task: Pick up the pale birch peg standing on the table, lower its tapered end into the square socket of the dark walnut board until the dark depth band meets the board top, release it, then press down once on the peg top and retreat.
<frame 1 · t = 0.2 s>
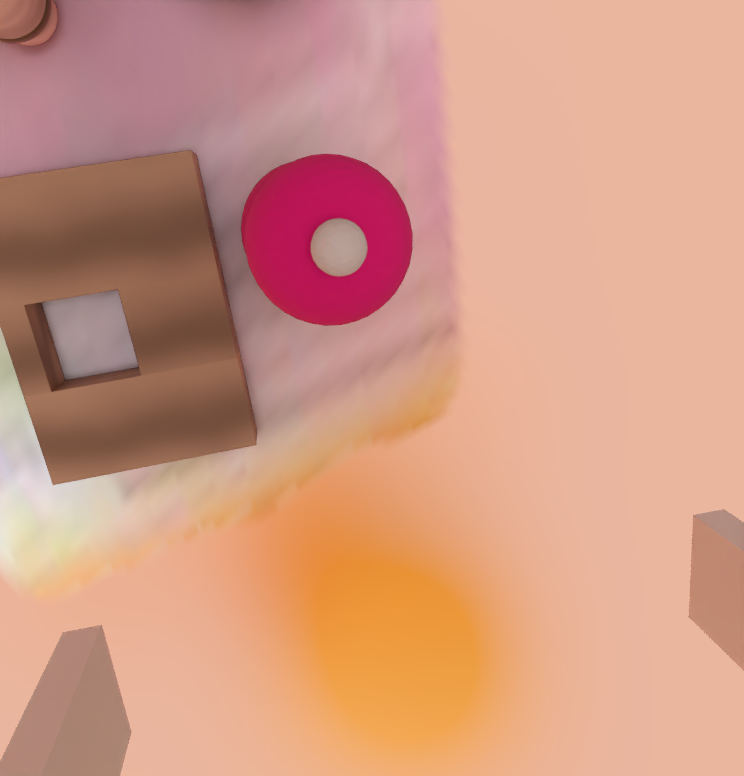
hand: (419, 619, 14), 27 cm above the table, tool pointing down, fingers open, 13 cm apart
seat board: (127, 318, 38), on the table
pepper mill: (305, 229, 38), on the table
peg: (24, 11, 33), on the table
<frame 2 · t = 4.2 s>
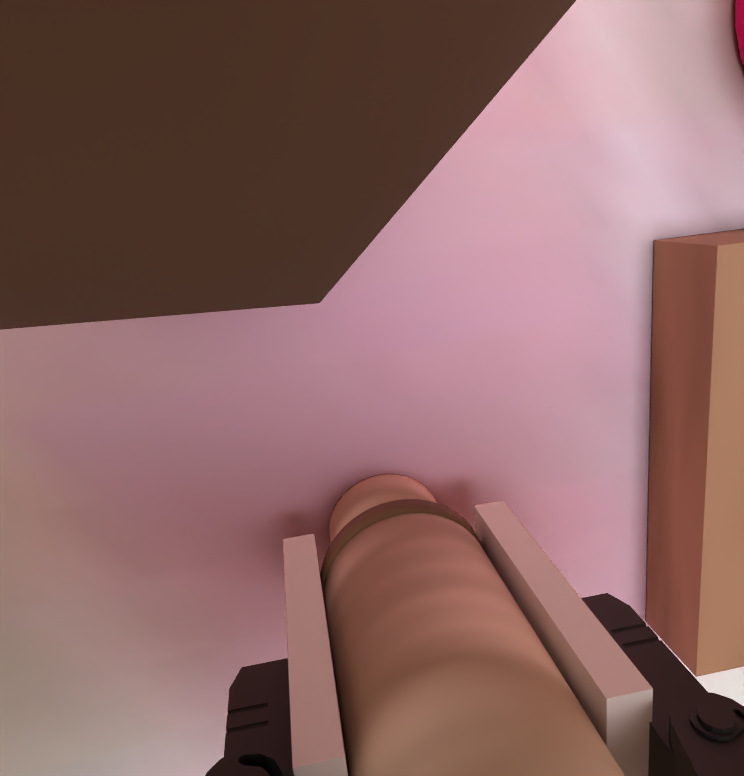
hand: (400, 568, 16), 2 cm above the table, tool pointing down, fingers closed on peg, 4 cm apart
beer bottle: (199, 72, 14), on the table
peg: (385, 526, 18), on the table, touching gripper
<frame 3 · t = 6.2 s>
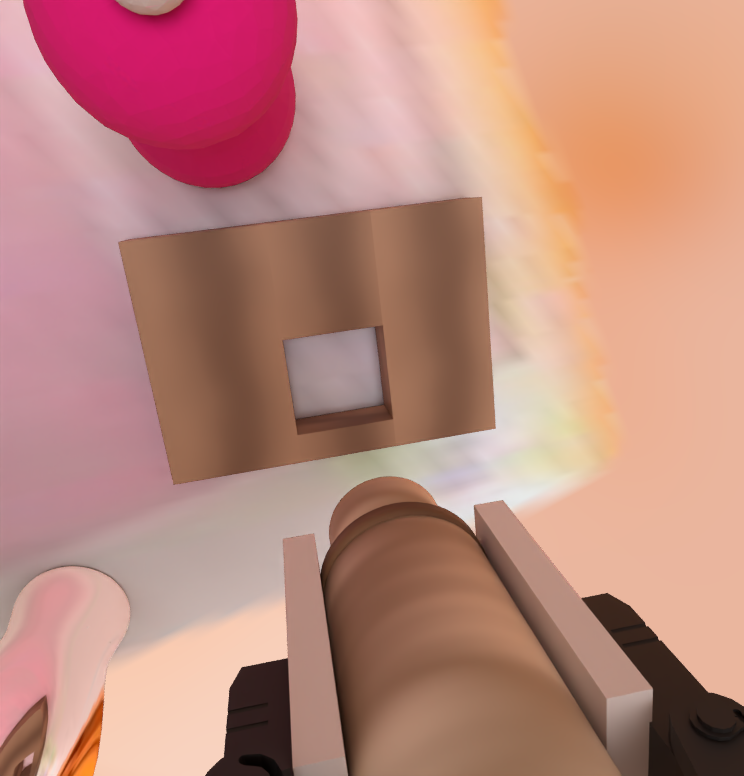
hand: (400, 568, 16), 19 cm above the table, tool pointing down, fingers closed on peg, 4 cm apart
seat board: (319, 334, 33), on the table
beer glass: (75, 610, 36), on the table
pepper mill: (213, 110, 30), on the table
peg: (385, 528, 18), point 17 cm above the table, touching gripper
when the fingers open (4 cm above the table, at t = 8.5 s): peg drops 2 cm, resting in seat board.
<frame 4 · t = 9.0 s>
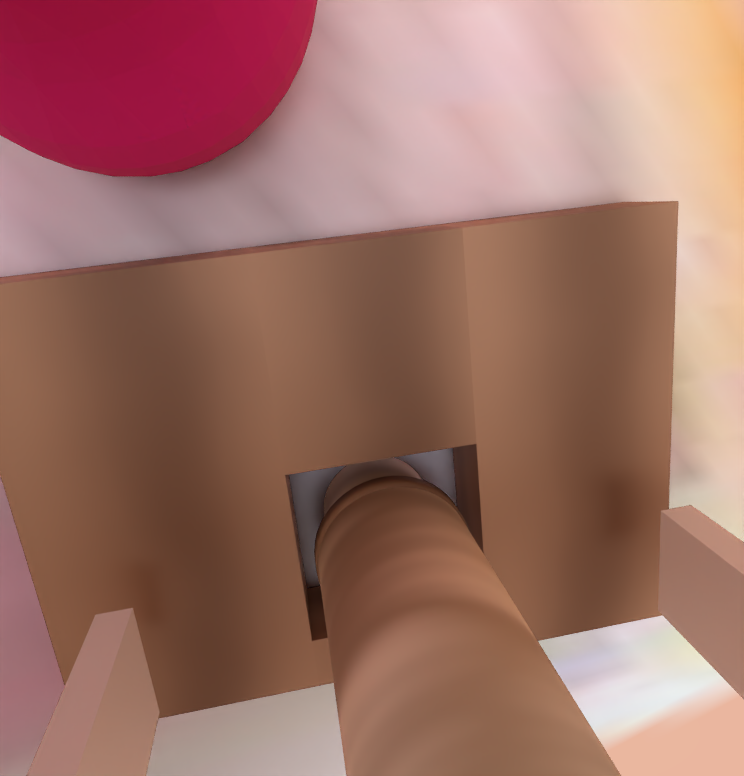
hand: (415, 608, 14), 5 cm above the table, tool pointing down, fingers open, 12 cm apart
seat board: (353, 445, 19), on the table
pepper mill: (154, 26, 15), on the table
peg: (375, 504, 19), resting in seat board
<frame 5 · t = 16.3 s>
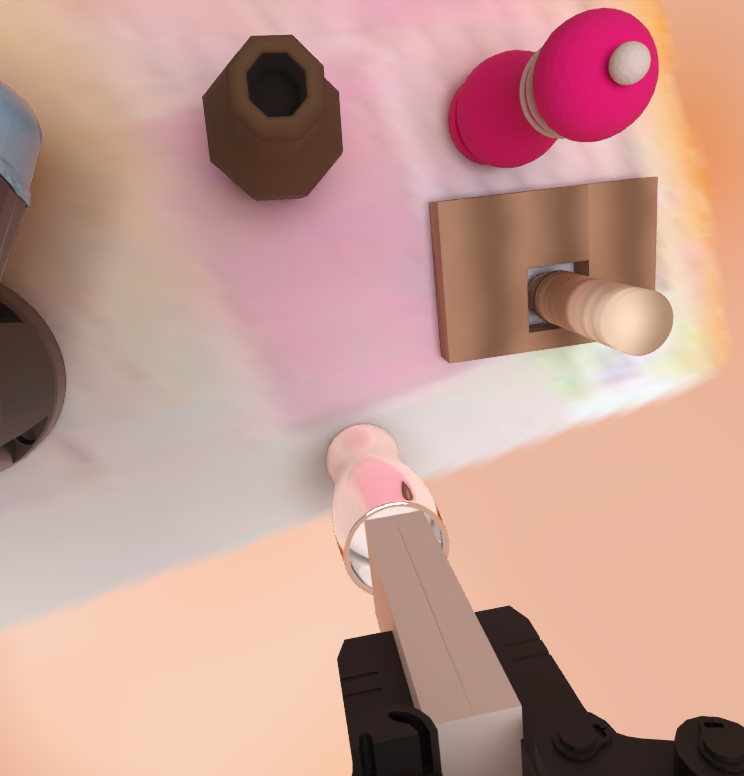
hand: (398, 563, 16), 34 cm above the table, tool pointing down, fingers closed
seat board: (538, 268, 50), on the table
beer glass: (362, 457, 53), on the table
beer bottle: (272, 147, 45), on the table
pepper mill: (488, 120, 47), on the table
peg: (544, 293, 51), resting in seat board
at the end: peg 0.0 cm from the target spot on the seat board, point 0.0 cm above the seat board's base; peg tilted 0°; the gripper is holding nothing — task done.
